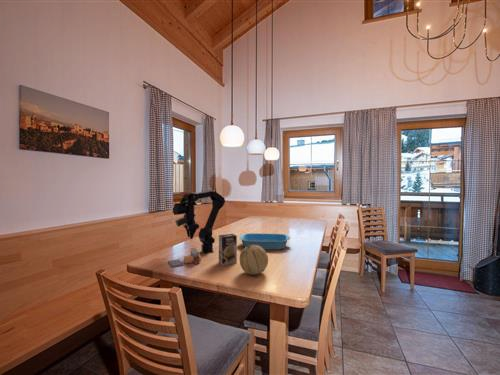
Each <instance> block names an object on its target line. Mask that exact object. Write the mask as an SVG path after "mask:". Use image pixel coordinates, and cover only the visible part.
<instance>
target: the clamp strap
mask: <svg viewBox="0 0 500 375" xmlns="http://www.w3.org/2000/svg"><path fill="white" fill-rule="evenodd" d="M189 250H190V254H191V253H192V254H193V255H194V256H195V257H198V256H201V254H200V251H199V250H198V249H197V248H196V247H190V248H189Z"/></svg>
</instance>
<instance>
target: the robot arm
mask: <svg viewBox="0 0 500 375" xmlns="http://www.w3.org/2000/svg"><path fill="white" fill-rule="evenodd" d="M206 198H210V200H211V201H212V202H211V205H212V208H211V210H210V213H209V216H208V218H207V221H206V223H205V226H204V227H203V228H202V227H201V228H200V225H199V224H198V223H197V222H196V220H195V217H196V214H195V206H198V203H196V202H197V201H198V200H201V199H206ZM225 203H226V199H225V197H224V196H222V195H221V194H220V193H218V192H217V191H216V190H212V189H211V190H207V191H200V192H185V193H184V194H183V196H182V198H181V200H180V202H178V203H177V202H175V203H174V205H173V207H172V213H173V215H174V216H177V215H183V216H182V217H181V218H178V219H176V220H175V221H174V222H175V224H176V226H177V227H181V226H182V227H183V228H184V229H185V231H186V235H187V238H190V240H193V238H194V236H195V234H196V232H197V230H198V229H199V232H198V238H199V241H200V243H201V252H202V253H204V254H210V253H214V252H215V251H214V249H213V248H214V247H213V246H214V243H215V241H216V240H215V238H214V237H213V227H214V225H215V223H216V219H217V218H218V214H219V211H220V210H221V209H222V208H223V207H224V205H225Z"/></svg>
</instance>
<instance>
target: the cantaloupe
mask: <svg viewBox="0 0 500 375" xmlns="http://www.w3.org/2000/svg"><path fill="white" fill-rule="evenodd" d="M268 263H269V256H268V254H267V252H266V249H263V248H262V247H261V246H258V245H250V246H249V245H248V247H246V248H245V247H244V248H243V249H242V250H241V252H240V254H239V265H240V268H241V269H242V270H243V271H244V272H245V274H248V275H252V276H254V275H259V274H261V273H263V272H264V271H265V270H266V269H267V267H268Z"/></svg>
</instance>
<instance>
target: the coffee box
mask: <svg viewBox="0 0 500 375" xmlns="http://www.w3.org/2000/svg"><path fill="white" fill-rule="evenodd" d="M237 243H238V236H237V235H236V234H235V233H229V234H227V233H225V234H219V235H218V263H219V264H220V265H221V266H227V265H232V264H237V263H238V262H237V260H238V258H237V253H238V249H237V248H238V247H237V246H238V244H237Z"/></svg>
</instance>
